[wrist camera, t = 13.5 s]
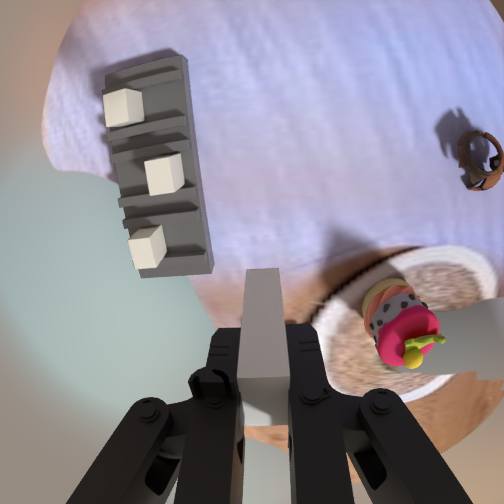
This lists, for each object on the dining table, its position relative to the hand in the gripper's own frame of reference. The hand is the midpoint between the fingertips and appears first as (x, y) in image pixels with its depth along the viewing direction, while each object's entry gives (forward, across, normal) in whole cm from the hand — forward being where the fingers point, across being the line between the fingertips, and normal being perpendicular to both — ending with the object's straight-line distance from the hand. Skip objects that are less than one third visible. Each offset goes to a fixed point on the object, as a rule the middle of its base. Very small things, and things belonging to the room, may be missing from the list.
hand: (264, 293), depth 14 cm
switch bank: (+27, -14, +3) cm, 31 cm away
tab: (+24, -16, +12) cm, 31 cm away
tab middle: (+24, -11, +3) cm, 27 cm away
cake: (+28, +20, -21) cm, 40 cm away
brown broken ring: (+28, +36, +4) cm, 45 cm away
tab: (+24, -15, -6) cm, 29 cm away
